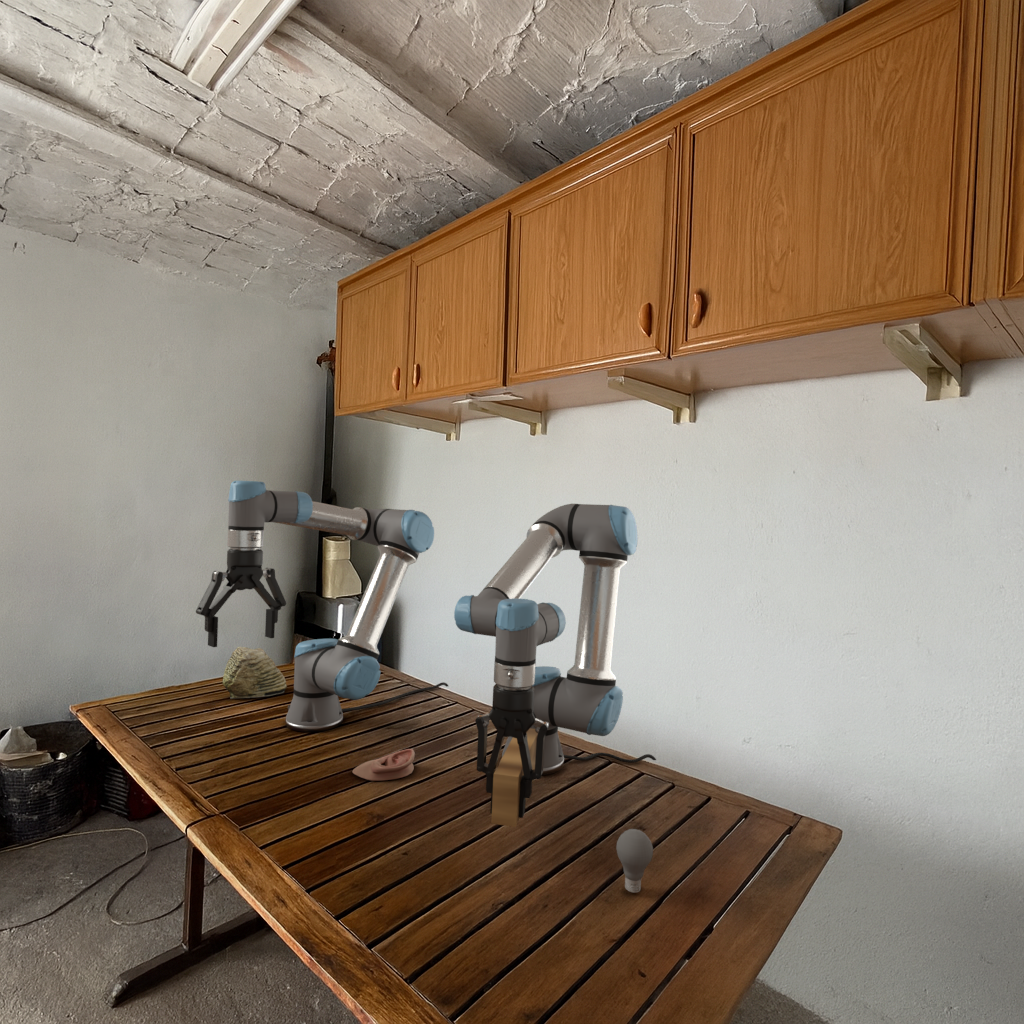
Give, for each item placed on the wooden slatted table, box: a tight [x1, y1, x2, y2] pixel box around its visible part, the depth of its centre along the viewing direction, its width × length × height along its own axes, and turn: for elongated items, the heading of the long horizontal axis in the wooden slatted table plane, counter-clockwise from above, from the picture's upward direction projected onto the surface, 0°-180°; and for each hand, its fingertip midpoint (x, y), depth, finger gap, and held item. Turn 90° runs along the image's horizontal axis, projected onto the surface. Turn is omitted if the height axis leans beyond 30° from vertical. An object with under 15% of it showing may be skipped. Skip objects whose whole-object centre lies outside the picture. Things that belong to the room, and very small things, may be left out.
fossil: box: [222, 646, 288, 699], centre depth 198 cm, size 9×18×15 cm, turn 132°
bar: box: [491, 728, 538, 828], centre depth 124 cm, size 25×4×9 cm, turn 169°
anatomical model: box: [352, 748, 416, 782], centre depth 147 cm, size 13×4×12 cm
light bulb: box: [615, 828, 654, 894], centre depth 106 cm, size 6×6×10 cm
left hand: (242, 641), depth 144 cm, fingers open, 13 cm apart
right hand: (507, 811), depth 116 cm, fingers closed on bar, 4 cm apart
